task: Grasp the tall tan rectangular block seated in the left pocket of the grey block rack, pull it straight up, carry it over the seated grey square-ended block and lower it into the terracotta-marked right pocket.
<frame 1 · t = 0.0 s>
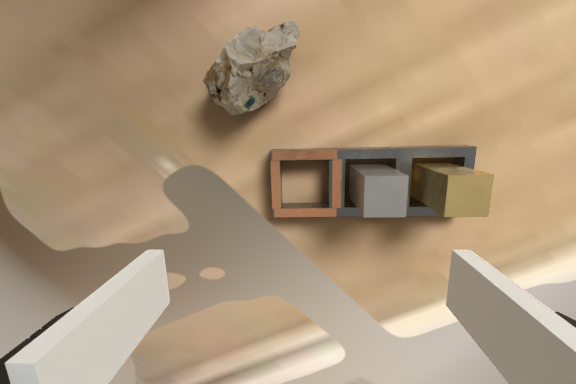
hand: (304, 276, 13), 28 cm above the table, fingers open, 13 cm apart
grey square-ended block: (374, 187, 35), in the grey block rack
grey block rack: (365, 180, 40), on the table
rock: (261, 77, 38), on the table
tan rectangular block: (428, 179, 40), resting in grey block rack
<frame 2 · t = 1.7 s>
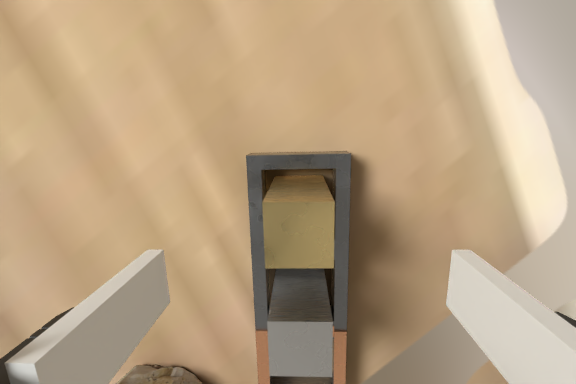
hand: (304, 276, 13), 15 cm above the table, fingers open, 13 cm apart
grey square-ended block: (300, 306, 25), in the grey block rack
grey block rack: (300, 277, 30), on the table
tan rectangular block: (299, 198, 28), resting in grey block rack
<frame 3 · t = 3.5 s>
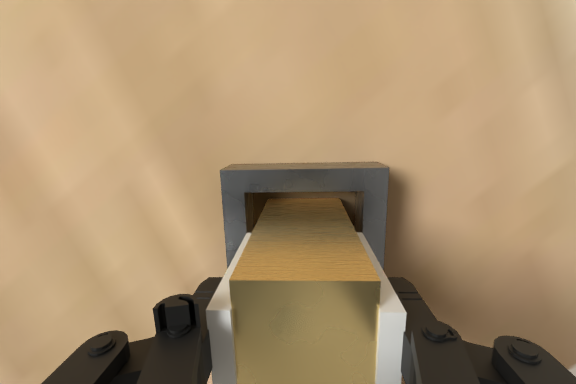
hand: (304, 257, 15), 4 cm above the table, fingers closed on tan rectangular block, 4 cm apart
grey block rack: (305, 343, 21), on the table
tan rectangular block: (303, 231, 19), resting in grey block rack, touching gripper
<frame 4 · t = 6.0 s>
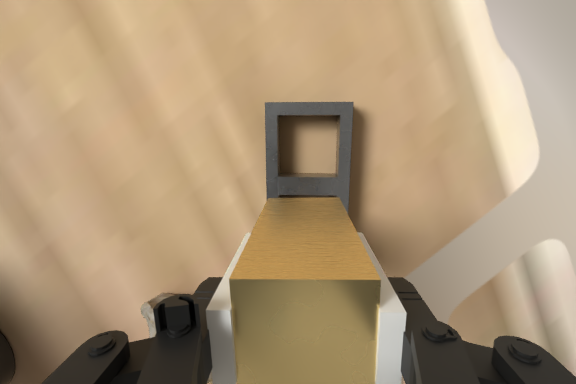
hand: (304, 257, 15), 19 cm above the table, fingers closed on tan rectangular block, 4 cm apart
grey block rack: (306, 216, 35), on the table
rock: (201, 313, 39), on the table
tan rectangular block: (303, 231, 19), point 15 cm above the table, touching gripper
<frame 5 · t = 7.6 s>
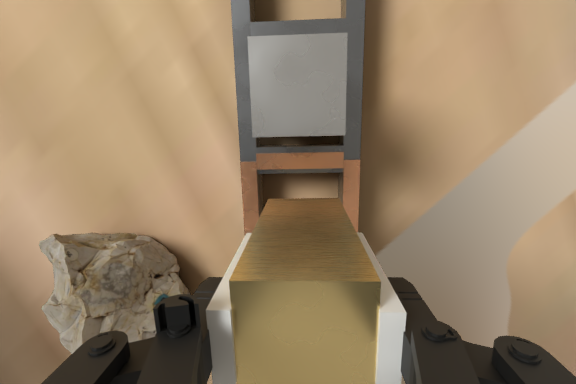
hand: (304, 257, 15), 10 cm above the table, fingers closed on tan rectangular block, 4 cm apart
grey square-ended block: (298, 97, 18), in the grey block rack
grey block rack: (299, 103, 23), on the table
rock: (151, 263, 27), on the table
tan rectangular block: (303, 231, 19), point 6 cm above the table, touching gripper
when the fingers open (5 cm above the table, at t = 8.9 s): tan rectangular block stays where it is, resting in grey block rack.
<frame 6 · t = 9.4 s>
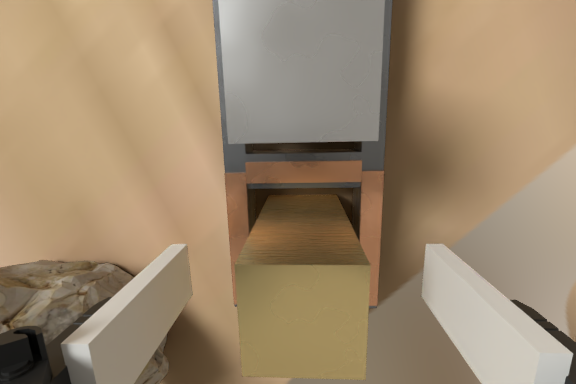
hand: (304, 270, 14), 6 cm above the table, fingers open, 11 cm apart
grey square-ended block: (301, 85, 13), in the grey block rack
grey block rack: (302, 96, 18), on the table
rock: (118, 296, 22), on the table
tan rectangular block: (303, 226, 20), resting in grey block rack
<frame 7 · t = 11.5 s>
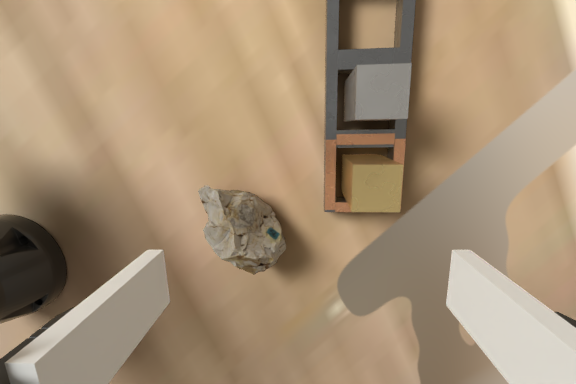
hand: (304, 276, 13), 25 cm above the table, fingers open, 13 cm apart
grey square-ended block: (371, 97, 30), in the grey block rack
grey block rack: (362, 101, 34), on the table
rock: (251, 214, 39), on the table
tan rectangular block: (359, 172, 36), resting in grey block rack
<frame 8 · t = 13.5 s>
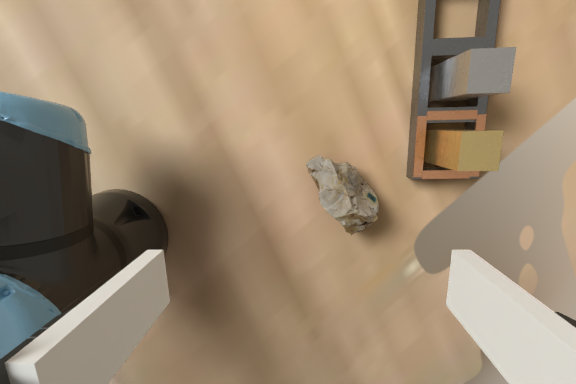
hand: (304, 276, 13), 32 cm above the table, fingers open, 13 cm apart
grey square-ended block: (465, 78, 35), in the grey block rack
grey block rack: (445, 84, 40), on the table
rock: (340, 184, 45), on the table
tan rectangular block: (439, 145, 42), resting in grey block rack
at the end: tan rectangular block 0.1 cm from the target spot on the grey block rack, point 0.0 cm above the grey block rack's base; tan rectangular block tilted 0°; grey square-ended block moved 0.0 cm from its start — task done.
